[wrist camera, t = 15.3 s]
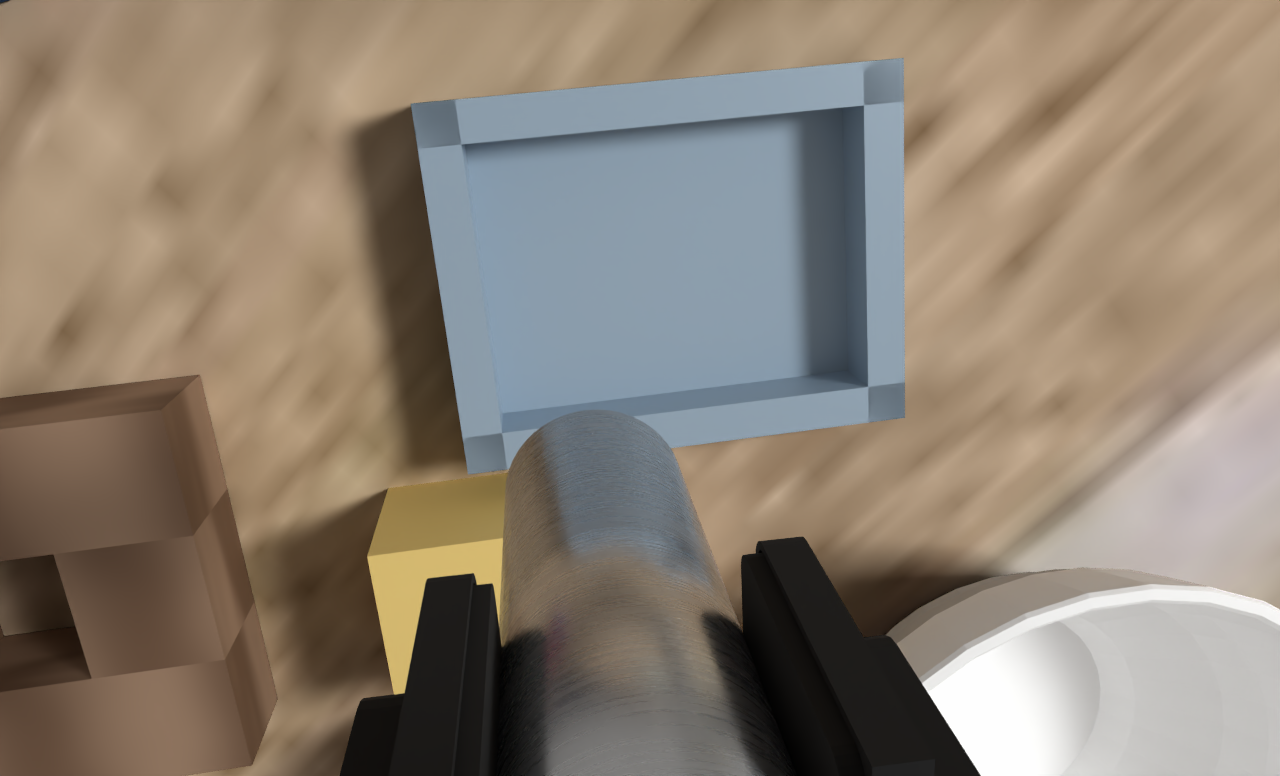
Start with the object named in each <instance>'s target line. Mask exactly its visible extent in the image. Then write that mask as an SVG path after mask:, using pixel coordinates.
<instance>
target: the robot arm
mask: <svg viewBox="0 0 1280 776" xmlns="http://www.w3.org/2000/svg"><path fill="white" fill-rule="evenodd" d="M741 577H742V610H743V635H744V638H745V641H746V643H747V646H748V649H749V651H750V654H751V656H752V659H753V662H754V664H755V667H756V669H757V672H758V675H759V677H760V680H761V683H762V685H763V688H764V690H765V693H766V696H767V698H768V701H769V704H770V706H771V709H772V711H773V714H774V717H775V719H776V722H777V724H778V727H779V730H780V732H781V735H782V738H783V740H784V743H785V745H786V748H787V751H788V753H789V756H790V758H791V761H792V764H793V766H794V769H795V772H796V774H797V776H981V775H980V773H979V772H978V770H977V769H976V767H975V766H974V764H973V763H972V761H971V759H970V758H969V756H968V755H967V753H966V752H965V750H964V748H963V747H962V745H961V744H960V742H959V741H958V739H957V738H956V736H955V734H954V733H953V731H952V730H951V728H950V727H949V725H948V723H947V722H946V720H945V719H944V717H943V716H942V714H941V713H940V711H939V709H938V708H937V706H936V705H935V703H934V702H933V700H932V698H931V697H930V695H929V694H928V692H927V691H926V689H925V688H924V686H923V684H922V683H921V681H920V680H919V678H918V677H917V675H916V673H915V672H914V670H913V669H912V667H911V666H910V664H909V663H908V661H907V659H906V658H905V656H904V655H903V653H902V652H901V650H900V648H899V647H898V645H897V644H896V643H895V642H894V640H893V639H892V638H891V637H889V636H886V635H881V636H872V637H863V636H862V634H861V632H860V631H859V629H858V627H857V626H856V624H855V622H854V620H853V619H852V617H851V615H850V614H849V612H848V610H847V609H846V607H845V605H844V604H843V602H842V600H841V598H840V597H839V595H838V593H837V592H836V590H835V588H834V587H833V585H832V583H831V581H830V580H829V578H828V576H827V575H826V573H825V571H824V570H823V568H822V566H821V565H820V563H819V561H818V559H817V558H816V556H815V554H814V553H813V551H812V549H811V548H810V546H809V544H808V542H807V541H806V539H805V538H804V537H794V538H785V539H776V540H767V541H758V543H757V546H756V554H748V555H743V556H742V560H741ZM501 652H502V646H501V638H500V630H499V622H498V614H497V606H496V599H495V592H494V586H493V583H490V584H481V585H477V583H476V578H475V575H474V573H471V574H462V575H453V576H444V577H435V578H428V579H427V580H426V583H425V589H424V594H423V599H422V604H421V610H420V615H419V620H418V625H417V630H416V636H415V641H414V646H413V651H412V657H411V662H410V667H409V672H408V677H407V683H406V688H405V693H403V694H394V695H386V696H378V697H370V698H364V699H362V700H361V701H360V703H359V706H358V708H357V711H356V715H355V719H354V723H353V726H352V730H351V734H350V738H349V742H348V746H347V749H346V753H345V757H344V761H343V765H342V769H341V773H340V776H497V752H498V727H499V702H500V677H501Z"/></svg>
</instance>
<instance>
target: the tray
mask: <svg viewBox="0 0 1280 776" xmlns="http://www.w3.org/2000/svg"><path fill="white" fill-rule="evenodd" d="M411 109H412V115H413V122H414V128H415V135H416V141H417V147H418V154H419V160H420V167H421V173H422V180H423V186H424V193H425V199H426V206H427V212H428V218H429V225H430V231H431V238H432V244H433V251H434V257H435V264H436V270H437V276H438V283H439V289H440V296H441V302H442V309H443V315H444V322H445V328H446V334H447V341H448V347H449V354H450V360H451V367H452V373H453V380H454V386H455V392H456V399H457V405H458V412H459V418H460V425H461V431H462V438H463V444H464V450H465V457H466V463H467V470H468V474H475V473H483V472H490V471H498V470H506V469H509V468H510V466H511V463H512V461H513V459H514V457H515V455H516V454H517V452H518V450H519V449H520V448H521V446H522V445H523V444H524V442H525V441H526V440H527V439H528V438H529V437H530V436H531V435H532V434H533V433H534V432H535V431H537V430H538V429H539V428H541V427H542V426H543V425H545V424H547V423H549V422H550V421H552V420H554V419H556V418H559V417H561V416H563V415H566V414H570V413H573V412H578V411H584V410H611V411H615V412H620V413H624V414H627V415H629V416H632V417H635V418H637V419H639V420H640V421H642V422H644V423H646V424H647V425H649V426H650V427H651V428H653V429H654V430H655V431H656V432H657V433H658V434H659V435H661V437H662V438H663V439H664V440H665V441H666V443H667V444H668V445H669V447H670V448H675V447H683V446H691V445H698V444H706V443H714V442H721V441H729V440H737V439H744V438H752V437H760V436H768V435H775V434H783V433H791V432H798V431H806V430H814V429H821V428H829V427H837V426H845V425H852V424H860V423H868V422H875V421H883V420H891V419H898V418H905V348H904V58H899V59H887V60H876V61H865V62H854V63H844V64H833V65H822V66H811V67H800V68H790V69H779V70H768V71H757V72H746V73H736V74H725V75H714V76H703V77H693V78H682V79H671V80H660V81H649V82H639V83H628V84H617V85H606V86H595V87H585V88H574V89H563V90H552V91H542V92H531V93H520V94H509V95H498V96H488V97H477V98H466V99H455V100H444V101H434V102H423V103H413V104H411Z"/></svg>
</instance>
